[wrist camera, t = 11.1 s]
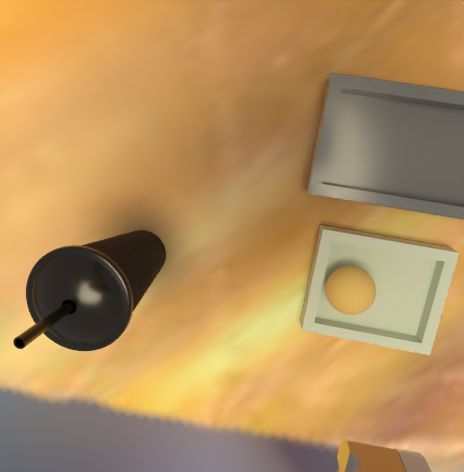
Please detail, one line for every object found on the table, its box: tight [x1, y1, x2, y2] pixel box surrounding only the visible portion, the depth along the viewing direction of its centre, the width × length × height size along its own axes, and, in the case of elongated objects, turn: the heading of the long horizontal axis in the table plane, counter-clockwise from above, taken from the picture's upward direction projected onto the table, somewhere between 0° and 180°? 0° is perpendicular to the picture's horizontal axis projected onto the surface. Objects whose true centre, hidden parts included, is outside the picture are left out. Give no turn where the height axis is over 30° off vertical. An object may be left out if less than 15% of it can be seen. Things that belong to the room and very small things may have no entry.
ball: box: [325, 266, 376, 315], centre depth 36 cm, size 4×4×4 cm
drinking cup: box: [14, 230, 166, 351], centre depth 31 cm, size 8×8×20 cm
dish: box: [306, 73, 464, 219], centre depth 34 cm, size 10×16×3 cm, turn 81°
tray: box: [300, 225, 459, 355], centre depth 38 cm, size 10×12×2 cm
